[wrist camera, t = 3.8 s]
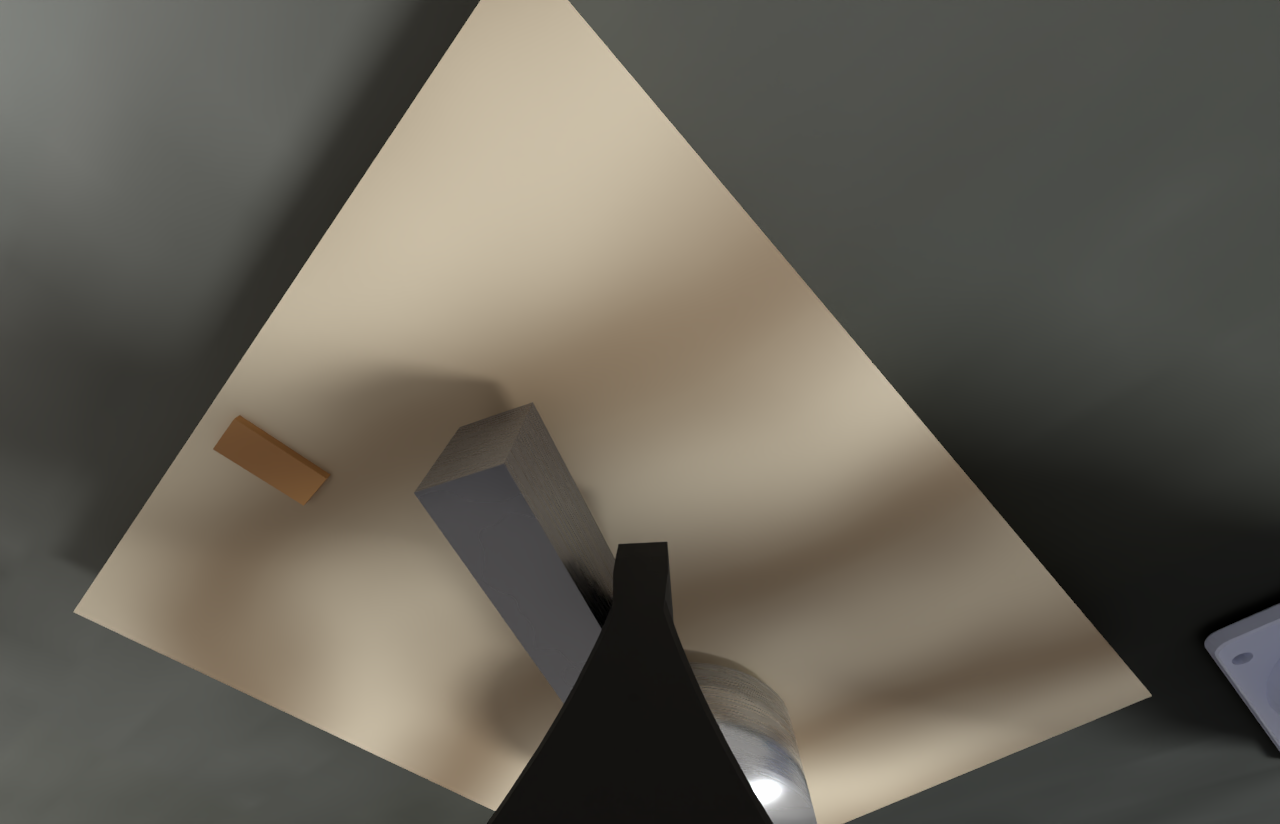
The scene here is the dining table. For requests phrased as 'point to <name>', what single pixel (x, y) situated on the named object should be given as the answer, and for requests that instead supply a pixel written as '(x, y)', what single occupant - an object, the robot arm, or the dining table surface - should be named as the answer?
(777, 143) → the dining table surface
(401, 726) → the oak board
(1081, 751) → the dining table surface
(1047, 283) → the dining table surface
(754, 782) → the grey spoon
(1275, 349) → the dining table surface
